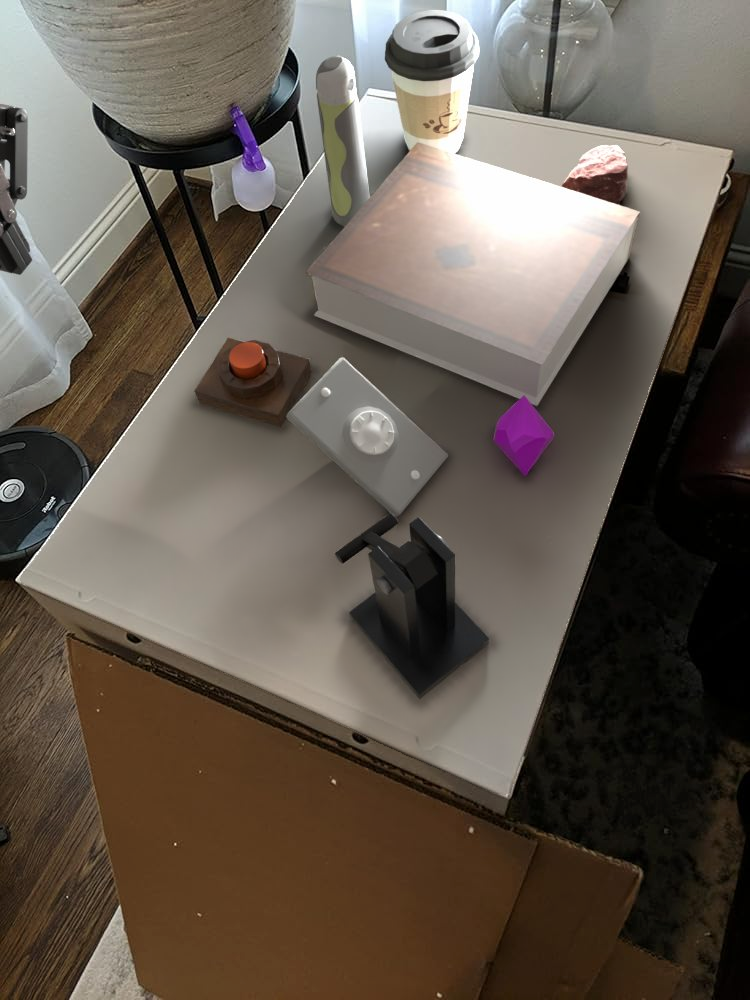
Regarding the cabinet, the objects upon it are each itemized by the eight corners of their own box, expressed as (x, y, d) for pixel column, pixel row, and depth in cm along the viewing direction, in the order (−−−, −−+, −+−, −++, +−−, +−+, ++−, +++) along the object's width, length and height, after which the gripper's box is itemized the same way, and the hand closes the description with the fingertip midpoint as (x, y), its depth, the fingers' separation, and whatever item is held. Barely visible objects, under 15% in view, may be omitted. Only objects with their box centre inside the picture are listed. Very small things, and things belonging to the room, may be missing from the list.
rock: (622, 190, 109) (559, 177, 110) (637, 141, 104) (572, 128, 105) (618, 230, 102) (551, 216, 102) (635, 179, 97) (565, 165, 98)
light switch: (402, 513, 82) (289, 410, 80) (382, 525, 87) (276, 429, 86) (453, 452, 85) (345, 351, 84) (431, 467, 90) (329, 373, 89)
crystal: (485, 446, 87) (487, 419, 83) (525, 418, 88) (528, 390, 85) (521, 479, 85) (525, 452, 81) (561, 449, 86) (566, 421, 82)
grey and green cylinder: (357, 234, 105) (339, 81, 88) (325, 221, 106) (300, 68, 89) (379, 210, 107) (365, 56, 90) (347, 197, 108) (327, 44, 91)
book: (419, 187, 108) (417, 142, 103) (629, 257, 99) (639, 211, 94) (313, 315, 98) (305, 272, 93) (536, 405, 89) (542, 364, 84)
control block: (281, 427, 90) (275, 404, 87) (198, 404, 93) (189, 380, 89) (312, 371, 94) (307, 347, 91) (232, 350, 96) (224, 325, 93)
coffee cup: (414, 183, 109) (409, 71, 96) (376, 134, 115) (366, 23, 102) (493, 153, 111) (498, 39, 98) (452, 106, 116) (452, -6, 104)
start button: (257, 382, 89) (253, 371, 87) (226, 374, 90) (222, 363, 88) (271, 357, 91) (268, 346, 89) (241, 349, 92) (238, 338, 90)
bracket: (349, 617, 78) (329, 539, 66) (417, 566, 80) (410, 482, 68) (419, 699, 74) (412, 633, 61) (489, 643, 76) (496, 568, 63)
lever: (342, 567, 73) (329, 545, 72) (396, 527, 75) (385, 505, 74) (397, 605, 65) (383, 580, 64) (457, 559, 66) (445, 534, 65)
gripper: (-139, 118, 45) (7, 342, 60) (5, -15, 51) (105, 217, 66) (-245, 95, 47) (-78, 317, 62) (-94, -31, 53) (25, 199, 68)
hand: (17, 265), depth 64 cm, fingers closed
